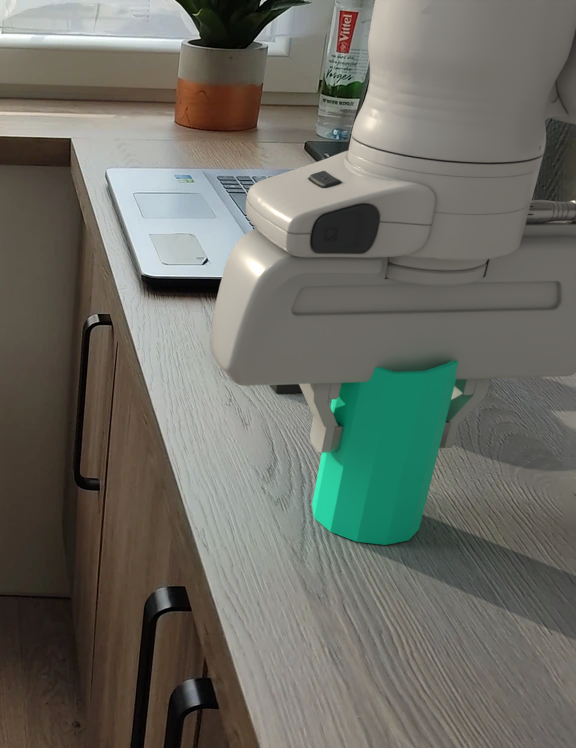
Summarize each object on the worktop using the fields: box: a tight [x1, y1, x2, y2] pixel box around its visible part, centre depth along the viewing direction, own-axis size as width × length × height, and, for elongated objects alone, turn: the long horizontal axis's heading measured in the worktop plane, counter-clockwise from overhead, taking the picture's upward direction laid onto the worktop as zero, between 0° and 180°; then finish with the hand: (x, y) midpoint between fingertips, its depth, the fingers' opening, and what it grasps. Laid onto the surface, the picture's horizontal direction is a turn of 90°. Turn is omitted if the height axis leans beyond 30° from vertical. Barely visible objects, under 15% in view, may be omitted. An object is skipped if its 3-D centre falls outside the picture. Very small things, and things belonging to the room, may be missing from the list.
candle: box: [311, 361, 459, 546], centre depth 61 cm, size 6×6×12 cm
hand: (379, 446), depth 61 cm, fingers closed on candle, 5 cm apart
